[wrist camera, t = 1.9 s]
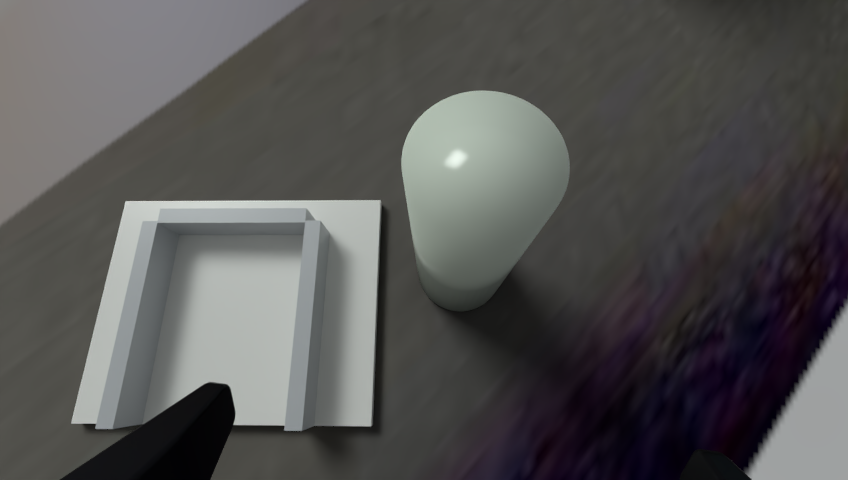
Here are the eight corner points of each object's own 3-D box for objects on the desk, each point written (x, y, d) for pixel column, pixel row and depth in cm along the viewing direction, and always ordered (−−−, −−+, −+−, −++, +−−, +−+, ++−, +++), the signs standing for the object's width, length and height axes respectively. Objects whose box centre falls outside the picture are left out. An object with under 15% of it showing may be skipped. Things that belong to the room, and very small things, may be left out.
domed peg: (502, 311, 23) (578, 240, 11) (417, 311, 23) (399, 240, 11) (498, 231, 24) (561, 90, 12) (418, 231, 24) (403, 91, 12)
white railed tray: (372, 424, 21) (364, 431, 18) (80, 422, 21) (34, 428, 19) (381, 204, 25) (376, 185, 22) (132, 205, 25) (99, 186, 23)
